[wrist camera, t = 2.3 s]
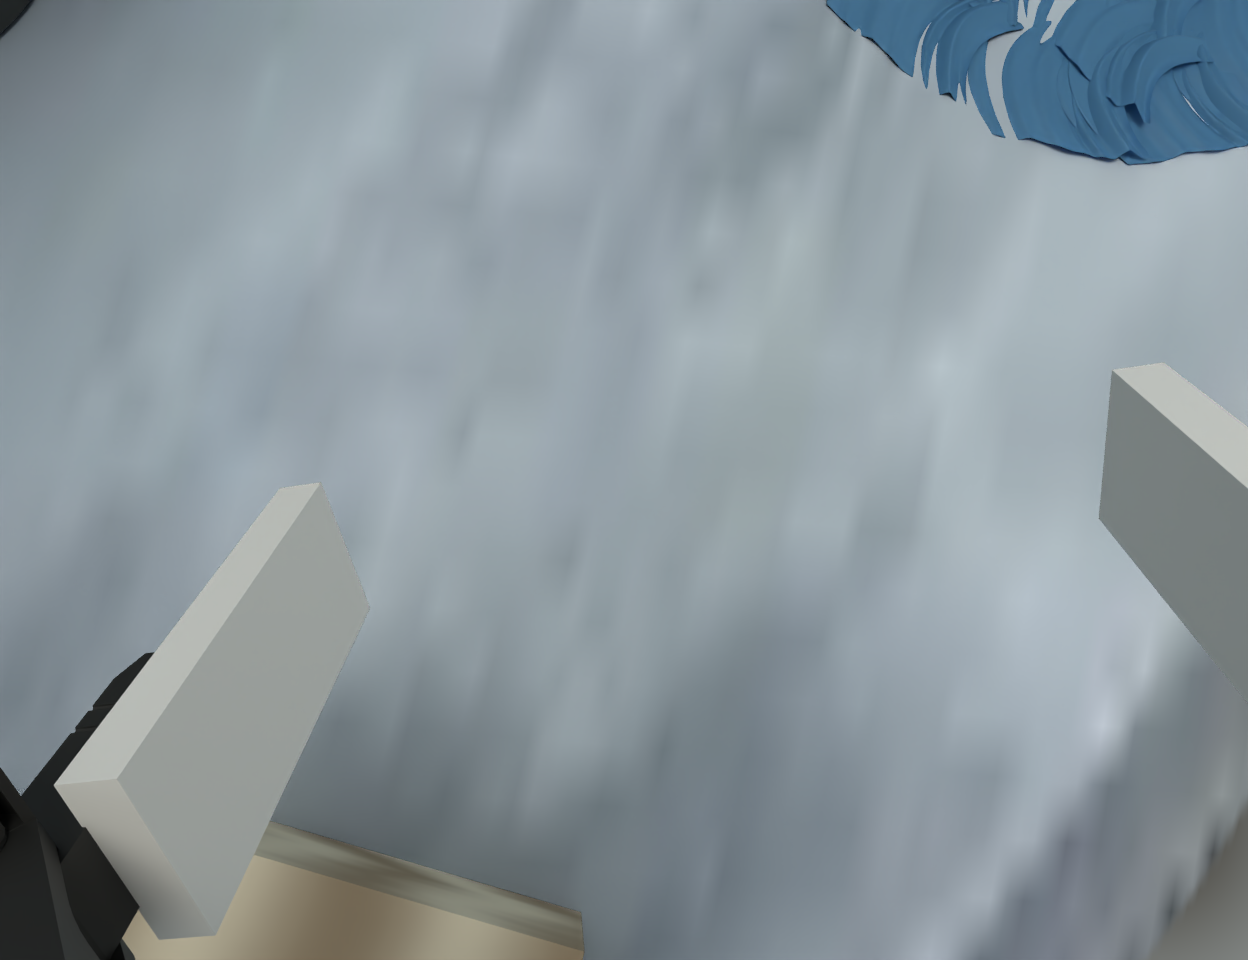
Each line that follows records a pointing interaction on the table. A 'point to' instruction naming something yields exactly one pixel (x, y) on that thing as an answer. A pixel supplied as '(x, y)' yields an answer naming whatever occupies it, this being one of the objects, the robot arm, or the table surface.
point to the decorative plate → (1085, 68)
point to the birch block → (366, 912)
